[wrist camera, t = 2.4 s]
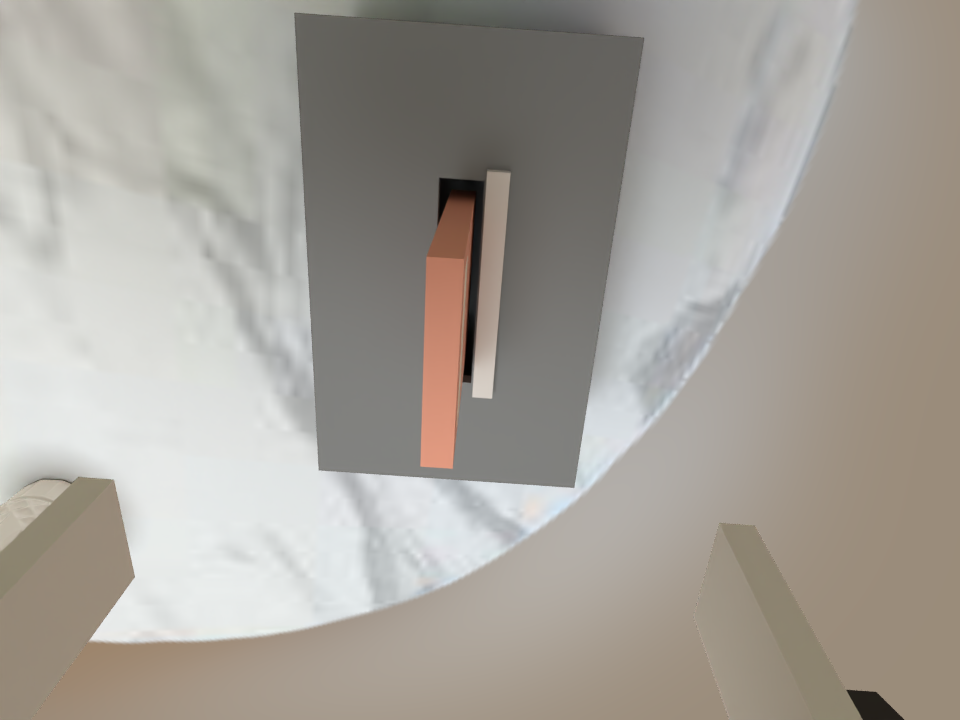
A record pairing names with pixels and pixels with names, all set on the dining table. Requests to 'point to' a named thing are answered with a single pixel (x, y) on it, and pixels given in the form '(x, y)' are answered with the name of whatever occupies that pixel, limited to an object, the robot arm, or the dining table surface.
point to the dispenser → (496, 240)
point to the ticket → (446, 328)
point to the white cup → (27, 507)
